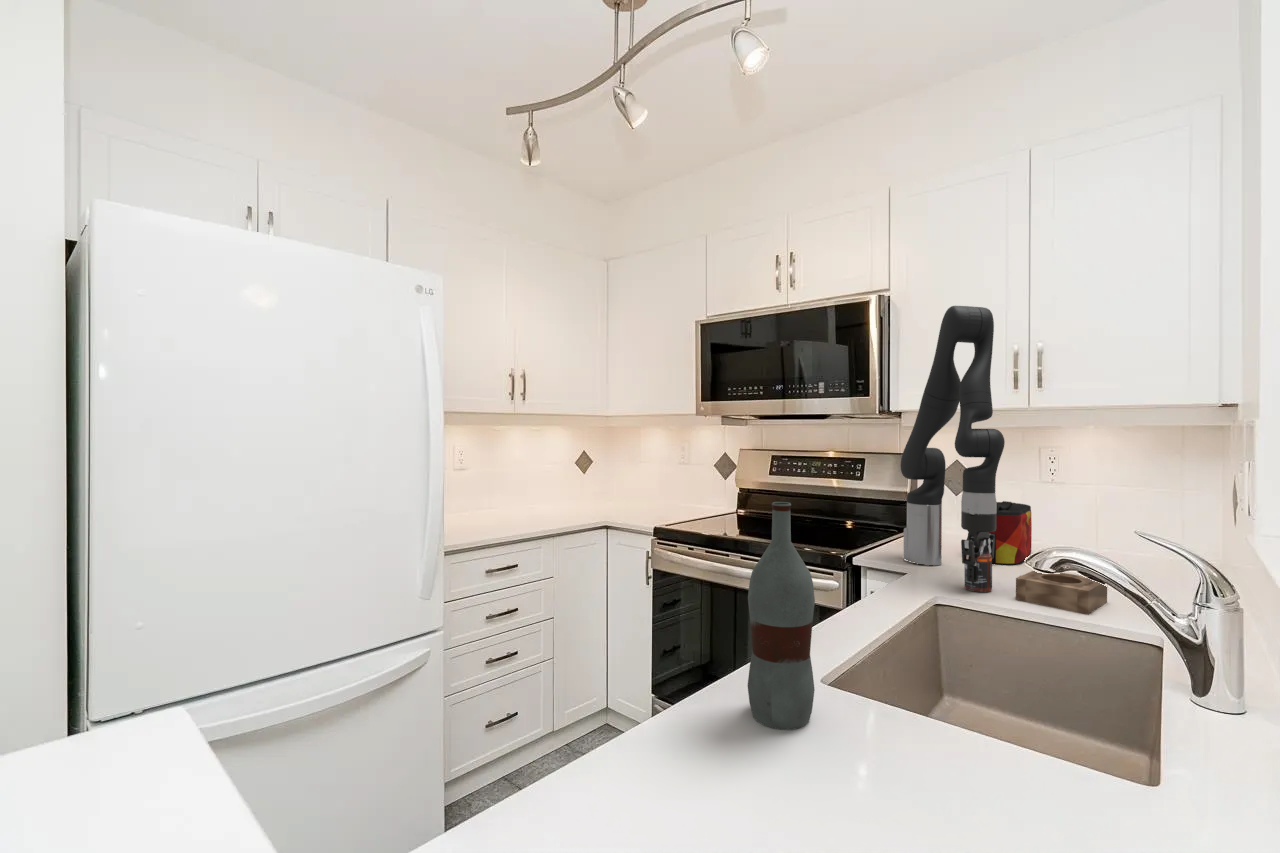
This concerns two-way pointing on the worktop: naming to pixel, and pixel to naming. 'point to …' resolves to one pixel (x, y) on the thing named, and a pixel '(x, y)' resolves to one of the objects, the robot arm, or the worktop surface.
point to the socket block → (1061, 591)
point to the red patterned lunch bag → (1012, 533)
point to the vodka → (781, 631)
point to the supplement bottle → (981, 574)
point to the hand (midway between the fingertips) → (978, 578)
